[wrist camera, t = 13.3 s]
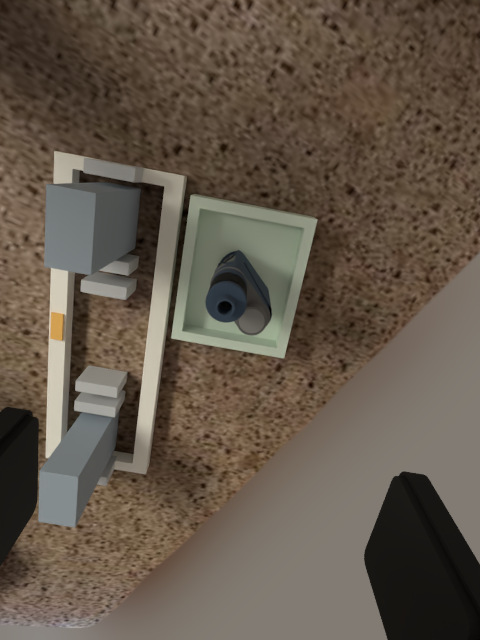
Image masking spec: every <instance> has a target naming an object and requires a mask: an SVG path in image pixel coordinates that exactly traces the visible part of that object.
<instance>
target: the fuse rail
mask: <svg viewBox="0 0 480 640" xmlns="http://www.w3.org/2000/svg"><path fill="white" fill-rule="evenodd" d="M80 170H82V171H83V173H87V174H93V175H98V176H103V177H108V178H113V179H119V180H124V181H129V182H144V183H149V184H155V185H160V186H164V195H163V204H162V212H161V221H160V230H159V238H158V247H157V256H156V264H155V273H154V282H153V290H152V299H151V308H150V316H149V325H148V334H147V342H146V351H145V360H144V368H143V377H142V386H141V394H140V403H139V412H138V420H137V429H136V438H135V446H134V454H130V453H124V452H118V451H114V449H115V447H116V441H117V430H118V420H119V410H120V407H121V406H122V404H123V402H124V400H125V392H126V391H124V390H122V388H123V387H124V385H125V383H126V382H127V372H124V371H118V370H113V369H107V368H101V367H95V366H90V365H89V366H88V367H87V368H86V369H85V370H84V372H83V373H82V374H81V375H80V376H79V377H78V379H77V380H76V385H75V391H79V392H81V393H80V395H79V396H78V397H77V398H76V400H75V403H74V411H80V412H82V413H81V414H80V415H79V417H78V418H77V420H76V421H75V422H74V424H73V425H72V427H71V428H70V429H69V431H68V432H67V424H68V403H69V383H70V362H71V342H72V321H73V301H74V280H75V272H76V273H81V274H86V275H88V276H86V277H85V278H83V279H81V292H85V293H90V294H96V295H101V296H107V297H112V298H118V299H123V300H126V299H127V298H128V297H129V296H130V295H131V294H132V293H133V292H134V291H135V290H136V283H137V279H134V278H129V277H123V276H118V275H112V274H107V273H101V272H97V271H99V270H100V271H105V272H110V273H116V274H121V275H127V276H128V275H130V274H131V273H132V272H133V271H135V270H136V269H137V268H138V263H139V256H136V255H130V254H127V253H128V252H130V251H131V250H133V249H135V245H136V235H137V224H138V214H139V204H140V194H141V189H139V188H134V187H129V186H124V185H118V184H113V183H108V182H93V183H79V178H80ZM186 181H187V176H183V175H178V174H173V173H168V172H163V171H157V170H152V169H147V168H142V167H137V166H132V165H126V164H121V163H116V162H111V161H106V160H101V159H95V158H90V157H85V156H80V155H75V154H69V153H64V152H58V151H54V184H46V220H45V263H44V267H48V268H51V288H50V322H49V357H48V392H47V426H46V458H48V460H47V461H46V463H45V464H44V465H43V467H42V468H41V470H40V478H39V521H38V522H44V523H51V524H57V525H63V526H69V527H76V525H77V523H78V521H79V519H80V517H81V515H82V513H83V511H84V509H85V507H86V505H87V503H88V501H89V499H90V497H91V495H92V493H93V491H94V489H95V487H96V485H103V486H107V484H108V482H109V479H110V477H111V475H112V473H113V471H114V469H116V470H122V471H128V472H134V473H140V474H146V472H147V469H148V467H149V462H150V454H151V447H152V439H153V432H154V424H155V416H156V409H157V401H158V394H159V386H160V379H161V371H162V363H163V356H164V348H165V341H166V333H167V325H168V318H169V310H170V303H171V295H172V288H173V280H174V272H175V265H176V257H177V250H178V242H179V235H180V227H181V219H182V212H183V204H184V197H185V189H186Z"/></svg>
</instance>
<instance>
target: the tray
mask: <svg viewBox="0 0 480 640" xmlns="http://www.w3.org/2000/svg"><path fill="white" fill-rule="evenodd" d="M317 220H318V219H316V218H314V217H313V216H308V215H303V214H297V213H292V212H287V211H282V210H277V209H271V208H266V207H261V206H256V205H250V204H245V203H240V202H235V201H230V200H224V199H219V198H214V197H209V196H204V195H198V194H193V195H191V196H190V204H189V211H188V218H187V226H186V233H185V240H184V248H183V255H182V262H181V270H180V277H179V284H178V292H177V299H176V306H175V314H174V321H173V328H172V336H171V339H177V340H183V341H188V342H194V343H200V344H205V345H211V346H216V347H222V348H228V349H233V350H239V351H244V352H250V353H256V354H261V355H267V356H272V357H278V358H284V357H285V353H286V349H287V345H288V340H289V336H290V332H291V328H292V324H293V320H294V315H295V311H296V307H297V303H298V299H299V295H300V290H301V286H302V282H303V278H304V274H305V270H306V266H307V261H308V257H309V253H310V249H311V245H312V241H313V236H314V232H315V228H316V224H317ZM237 250H240V251H241V252H243V254H244V255H245V256H246V258H247V259H248V261H249V262H250V263H251V265H252V266H253V268H254V269H255V271H256V272H257V273H258V275H259V276H260V278H261V279H262V281H263V282H264V284H265V285H266V286H267V288H268V290H269V296H270V302H271V308H272V317H271V320H270V322H269V324H268V325H267V326H266V327H265V329H264V330H263V331H262V332H261V333H260V334H258V335H253V336H250V335H246V334H244V333H242V332H241V331H240V330H239V328H238V326H237V325H236V324H235V322H234V321H233V322H228V323H224V322H220V321H217V320H215V319H214V318H213V317H211V315H210V314H209V313H208V311H207V309H206V303H205V301H206V296H207V293H208V291H209V288H210V282H211V279H212V277H213V275H214V272H215V269H216V268H217V266H218V263H220V262H221V260H222V259H223V258H224V257H225V256H226V255H227V254H229V253H231V252H234V251H237Z"/></svg>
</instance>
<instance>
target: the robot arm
mask: <svg viewBox="0 0 480 640" xmlns="http://www.w3.org/2000/svg"><path fill="white" fill-rule="evenodd" d="M38 432H39V421H38V418H36V417H33V414H32V412H31V411H30V410H24V409H18V408H11V407H6V408H5V409H3V410H2V411H1V412H0V566H1V564H2V562H3V561H4V559H5V558H6V556H7V554H8V553H9V551H10V550H11V548H12V546H13V545H14V543H15V542H16V540H17V539H18V537H19V535H20V534H21V532H22V531H23V529H24V527H25V526H26V524H27V523H28V521H29V519H30V518H31V516H32V514H33V513H34V510H35V507H36V504H37V490H38ZM364 557H365V558H364V560H365V566H366V569H367V573H368V576H369V579H370V583H371V586H372V589H373V593H374V596H375V599H376V602H377V606H378V609H379V612H380V616H381V619H382V622H383V626H384V629H385V632H386V635H387V639H388V640H480V564H479V562H478V561H477V559H476V557H475V556H474V554H473V552H472V551H471V549H470V547H469V546H468V544H467V542H466V541H465V539H464V537H463V536H462V534H461V532H460V531H459V529H458V527H457V525H456V524H455V522H454V521H453V519H452V517H451V515H450V514H449V512H448V510H447V509H446V507H445V505H444V504H443V502H442V500H441V499H440V497H439V495H438V494H437V492H436V490H435V489H434V487H433V485H432V484H431V482H430V480H429V479H428V477H427V476H425V475H422V474H416V473H410V472H402V473H400V475H399V476H395V477H394V478H393V480H392V481H391V484H390V487H389V489H388V492H387V494H386V497H385V500H384V502H383V505H382V507H381V510H380V513H379V515H378V518H377V521H376V523H375V526H374V529H373V531H372V533H371V536H370V539H369V541H368V544H367V546H366V549H365V555H364Z"/></svg>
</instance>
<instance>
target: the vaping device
mask: <svg viewBox="0 0 480 640" xmlns="http://www.w3.org/2000/svg"><path fill="white" fill-rule="evenodd" d="M205 303H206V309H207V311H208V313H209V314H210V315H211V317H213V318H214V319H215V320H217V321H220V322H224V323H228V322H233V321H234V322H235V324H236V325H237V326H238V328H239V330H240V331H241V332H242V333H244V334H246V335H250V336H253V335H258V334H260V333H261V332H262V331H263V330H264V329H265V327H266V326H267V325H268V324H269V322H270V320H271V317H272V308H271V302H270V296H269V290H268V288H267V286H266V285H265V284H264V282H263V281H262V279H261V278H260V276H259V275H258V273H257V272H256V271H255V269H254V268H253V266H252V265H251V263H250V262H249V261H248V259H247V258H246V256H245V255H244V254H243V252H241V251H240V250H237V251H234V252H231V253H229V254H227V255H226V256H225V257H224V258H223V259H222V260H221V262H220V263H218V266H217V268H216V269H215V272H214V275H213V277H212V279H211V282H210V288H209V291H208V293H207V296H206V301H205Z"/></svg>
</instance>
